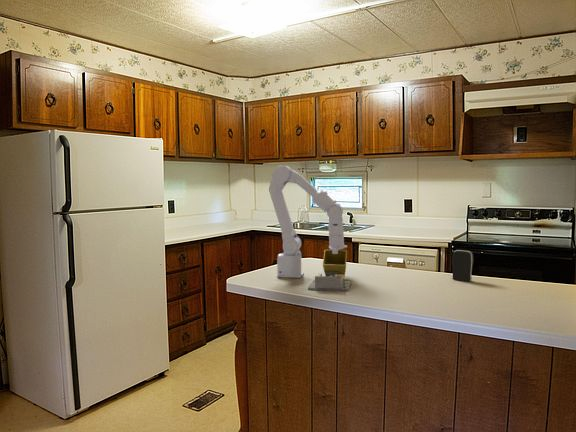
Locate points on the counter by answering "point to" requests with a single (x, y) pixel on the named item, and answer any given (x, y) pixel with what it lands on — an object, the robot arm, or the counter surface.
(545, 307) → the counter surface
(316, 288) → the gauge housing
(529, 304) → the counter surface
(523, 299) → the counter surface
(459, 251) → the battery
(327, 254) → the flower pot
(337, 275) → the plunger
